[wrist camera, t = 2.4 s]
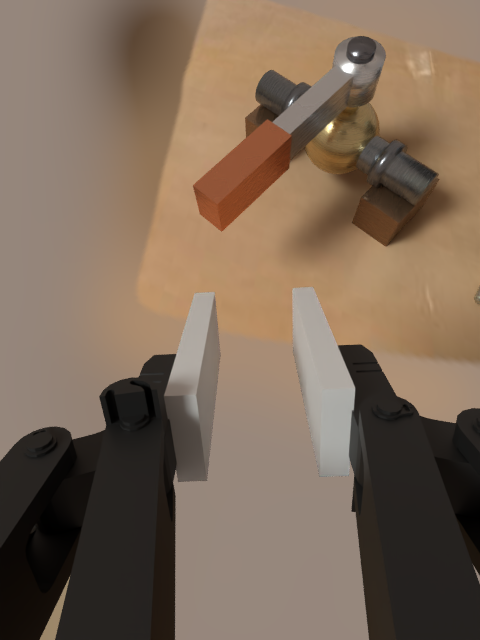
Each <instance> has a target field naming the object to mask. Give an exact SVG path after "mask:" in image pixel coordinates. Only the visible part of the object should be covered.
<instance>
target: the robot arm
mask: <svg viewBox="0 0 480 640" xmlns="http://www.w3.org/2000/svg"><path fill="white" fill-rule="evenodd" d="M219 345H220V344H219V333H218V322H217V311H216V300H215V292H206V293H195V294H194V297H193V301H192V304H191V307H190V311H189V314H188V317H187V321H186V324H185V328H184V331H183V334H182V338H181V341H180V345H179V348H178V351H177V354H169V355H154V356H153V357H152V358H150V359H149V360H148V361H147V362H146V363H145V364H144V366H143V368H142V370H141V373H140V376H139V377H138V378H128V379H124V380H120V381H117V382H115V383H113V384H111V385H109V386H108V387H107V388H106V389H104V390H103V392H102V393H101V395H100V401H101V405H102V409H103V413H104V417H105V421H106V429H105V430H104V431H101V432H99V433H96V434H93V435H89V436H85V437H81V438H77V439H73V440H72V437H71V434H70V432H69V431H68V430H66V429H65V428H60V427H47V428H43V429H39V430H36V431H33V432H32V433H30V434H28V435H26V436H24V437H23V438H21V439H20V440H19V441H18V442H17V443H16V444H15V445H14V446H13V447H12V448H11V449H10V451H9V452H8V453H7V454H6V455H5V457H4V458H3V459H2V460H1V461H0V640H40V637H41V635H42V633H43V631H44V629H45V627H46V625H47V623H48V621H49V619H50V616H51V614H52V612H53V610H54V608H55V606H56V604H57V602H58V600H59V598H60V596H61V593H62V591H63V589H64V587H65V585H66V583H67V581H68V579H69V577H70V580H69V584H68V588H67V593H66V597H65V601H64V605H63V609H62V613H61V618H60V622H59V626H58V630H57V634H56V639H55V640H175V490H174V485H173V480H174V475H175V470H176V471H177V477H178V481H179V482H184V481H207V474H208V466H209V456H210V447H211V438H212V429H213V419H214V410H215V400H216V391H217V382H218V372H219V363H220V346H219ZM293 353H294V358H295V363H296V368H297V373H298V377H299V382H300V387H301V392H302V396H303V401H304V406H305V410H306V415H307V419H308V425H309V429H310V434H311V439H312V444H313V448H314V453H315V457H316V462H317V467H318V472H319V476H320V477H327V476H349V467H350V462H351V465H352V468H353V471H354V487H353V500H352V512H356V519H357V529H358V539H359V548H360V558H361V567H362V575H363V585H364V595H365V605H366V614H367V624H368V633H369V640H480V584H479V581H478V578H477V575H476V573H475V570H474V567H475V568H476V570H477V572H478V573H479V575H480V409H475V408H472V409H468V410H464V411H462V412H461V413H460V414H459V415H458V416H457V421H456V423H450V422H444V421H438V420H433V419H428V418H425V417H422V416H419V413H418V411H417V410H416V408H415V407H414V406H413V405H412V404H411V403H409V402H408V401H407V400H405V399H402V398H400V397H397V396H396V394H395V392H394V390H393V389H392V387H391V385H390V383H389V382H388V380H387V378H386V376H385V374H384V373H383V372H382V369H381V367H380V366H379V364H378V362H377V360H376V358H375V357H374V355H373V353H372V352H371V351H369V350H368V349H367V348H365V347H364V346H362V345H339V346H337V343H336V341H335V338H334V336H333V334H332V331H331V329H330V327H329V324H328V322H327V319H326V317H325V315H324V312H323V310H322V307H321V305H320V303H319V300H318V298H317V296H316V293H315V291H314V288H313V287H304V288H293ZM473 565H474V567H473ZM70 575H71V576H70Z"/></svg>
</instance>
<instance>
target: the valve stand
mask: <svg viewBox="0 0 480 640" xmlns="http://www.w3.org/2000/svg"><path fill="white" fill-rule="evenodd" d="M310 88H311V86H310V85H308V84H306V83H304V82H302V83H300V84H298V85H296V84H295V83H293V82H291V81H290V80H288V79H287V78H285V77H283V76H282V75H280V74H279V73H277V72H275V71H274V70H270V71H268V72H266V73H265V74H264V75H263V77H262V78H261V80H260V81H259V83H258V86H257V89H256V95H255V97H256V101H257V102H258V103H260V104H261V105H260V106H258V107H257V108H256V109H255V110H254V111H253V112H252V113H250V114H249V115H248V116H247V117H246V118H245V122H246V138H247V137H248V136H249V135H250V134H251V133H252V132H253V131H255V130H256V129H257V128H258V127H259V126H260V125H261V124H262V123H264V122H265V121H266V120H267V119H268V120H269V121H271V122H273V121H274V120H275V119H276V118H277V117H279V116H280V115H281V114H282V113H283V112H284V111H285V110H286V109H287V108H289V107H290V106H291V105H292V104H293V103H294V102H295V101H296V100H298V99H299V98H300V97H301V96H302V95H303V94H304V93H305V92H306V91H308V90H309V89H310ZM379 132H380V127H379V120H378V117H377V114H376V112H375V110H374V108H373V107H372V106H371V104H370V103H367V104H365V105H363V106H360V107H354V108H351V107H346V108H345V109H344V110H343V111H342V112H341V113H340V114H339V115H338V116H337V117H336V118H335V119H334V120H333V121H332V122H330V123H329V124H328V125H327V126H326V127H325V128H324V129H323V130H322V131H321V132H320V133H319V134H318V135H317V136H316V137H315V138H313V139H312V140H311V141H310V142H309V143H308V144H307V145H306V146H305V149H306V152H307V155H308V157H309V158H310V160H311V161H312V162H313V164H314V165H316V166H317V167H318V168H319V169H321V170H323V171H325V172H328V173H332V174H344V173H348V172H351V171H354V170H356V169H357V168H358V169H359V170H361V171H362V172H364V173H365V174H367V175H368V177H367V182H368V183H369V184H371V185H372V187H371V188H370V189H369V190H368V191H367V192H366V193H365V194H364V195H363V196H362V197H361V200H360V202H359V205H358V208H357V211H356V213H355V216H354V219H353V221H352V223H353V224H355V225H356V226H357V227H359V228H360V229H362V230H363V231H364V232H366V233H367V234H369V235H370V236H372V237H373V238H374V239H376V240H377V241H379V242H380V243H381V244H383V245H384V246H387V245H388V244H389V243H390V241H391V240H392V239H393V238H394V237H395V236H396V235H397V234H398V233H399V232H400V231H401V229H402V228H403V227H404V226H405V225H406V224H407V223H408V222H409V221H410V220H411V219H412V217H413V216H414V215H415V214H416V213H417V212H418V211H419V210H420V209H421V208H422V207H423V205H424V203H425V202H426V200H427V199H428V197H429V195H430V194H431V192H432V190H433V189H434V187H435V186H436V184H437V182H438V181H439V179H438V178H437V177H438V173H436V172H435V171H433V170H432V169H430V168H428V167H427V166H425V165H424V164H422V163H421V162H419V161H417V160H416V159H414V158H413V157H411V156H409V155H408V154H406V151H407V146H406V145H405V144H403V143H401V142H400V141H398V140H394V141H392V142H391V143H389V142H387V141H385V140H384V139H382V138H381V137H379Z"/></svg>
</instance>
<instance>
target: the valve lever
mask: <svg viewBox="0 0 480 640" xmlns="http://www.w3.org/2000/svg"><path fill="white" fill-rule="evenodd" d="M385 57H386V54H385V50H384V48H383V47H382V45H381V44H380V43H378V42H377V41H375V40H373V39H371V38H369V37H365V36H358V37H351V38H348V39H346V40H344V41H342V42H341V43H340V44H339V45H338V46H337V48H336V50H335V55H334V61H333V67H332V69H331V70H330V71H329V72H328V73H327V74H325V75H324V76H323V77H322V78H321V79H320V80H319V81H318V82H316V83H315V84H314V85H313V86H312V87H311V88H310V89H309V90H308V91H306V92H305V93H304V94H303V95H302V96H301V97H300V98H299V99H298V100H296V101H295V102H294V103H293V104H292V105H291V106H290V107H289V108H287V109H286V110H285V111H284V112H283V113H282V114H281V115H280V116H279V117H277V118H276V119H275V120H274V121H273V122H271V121H269V120H268V119H267V120H266V121H265V122H264V123H262V124H261V125H260V126H259V127H258V128H257V129H256V130H255V131H253V132H252V133H251V134H250V135H249V136H248V137H247V138H246V139H244V140H243V141H242V142H241V143H240V144H239V145H238V146H237V147H236V148H234V149H233V150H232V151H231V152H230V153H229V154H228V155H227V156H225V157H224V158H223V159H222V160H221V161H220V162H219V163H218V164H216V165H215V166H214V167H213V168H212V169H211V170H210V171H209V172H207V173H206V174H205V175H204V176H203V177H202V178H201V179H200V180H198V181H197V182H196V183H195V184H194V185H193V188H194V192H195V196H196V200H197V204H198V208H199V212H200V215H202V216H203V217H204V218H205V219H207V220H208V221H209V222H210V223H212V224H213V225H214V226H215V227H217V228H218V229H219V230H220V231H223V230H224V229H225V228H226V227H227V226H228V225H229V224H230V223H232V222H233V221H234V220H235V219H236V218H237V217H238V216H239V215H240V214H241V213H242V212H243V211H244V210H245V209H246V208H247V207H248V206H250V205H251V204H252V203H253V202H254V201H255V200H256V199H257V198H258V197H259V196H260V195H261V194H262V193H263V192H264V191H265V190H266V189H268V188H269V187H270V186H271V185H272V184H273V183H274V182H275V181H276V180H277V179H278V178H279V177H280V176H281V175H282V174H283V173H284V172H286V171H287V170H288V169H289V162H290V160H291V159H292V158H293V157H294V156H295V155H296V154H297V153H299V152H300V151H301V150H302V149H303V148H304V147H305V146H306V145H307V144H308V143H309V142H310V141H311V140H312V139H313V138H315V137H316V136H317V135H318V134H319V133H320V132H321V131H322V130H323V129H324V128H325V127H326V126H327V125H328V124H329V123H330V122H332V121H333V120H334V119H335V118H336V117H337V116H338V115H339V114H340V113H341V112H342V111H343V110H344V109H345V108H346V107H351V108H354V107H360V106H363V105H365V104H367V103H369V102H370V101H371V100H372V98H373V97H374V94H375V91H376V87H377V84H378V81H379V77H380V74H381V71H382V67H383V64H384V61H385Z"/></svg>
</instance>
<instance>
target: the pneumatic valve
mask: <svg viewBox="0 0 480 640" xmlns="http://www.w3.org/2000/svg"><path fill="white" fill-rule="evenodd" d="M474 299H475V303H477V304H480V287H479V289H478V291H477V293H476V295H475V297H474Z"/></svg>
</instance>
